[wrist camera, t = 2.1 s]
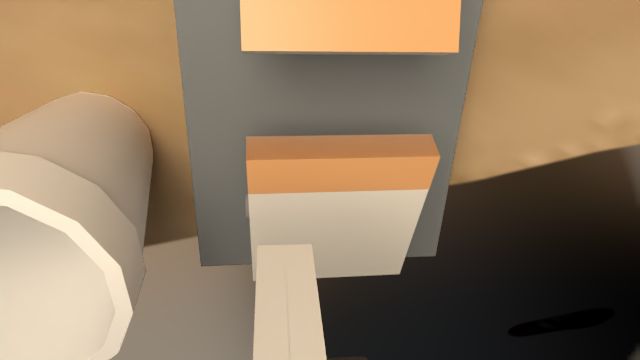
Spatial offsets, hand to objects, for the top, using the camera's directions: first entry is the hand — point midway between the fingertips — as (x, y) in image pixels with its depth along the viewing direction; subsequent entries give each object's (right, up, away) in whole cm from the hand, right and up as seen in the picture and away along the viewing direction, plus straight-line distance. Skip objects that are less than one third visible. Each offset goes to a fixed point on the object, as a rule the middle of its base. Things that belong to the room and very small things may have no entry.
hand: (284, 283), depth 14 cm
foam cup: (-12, +5, +14) cm, 19 cm away
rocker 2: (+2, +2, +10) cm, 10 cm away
